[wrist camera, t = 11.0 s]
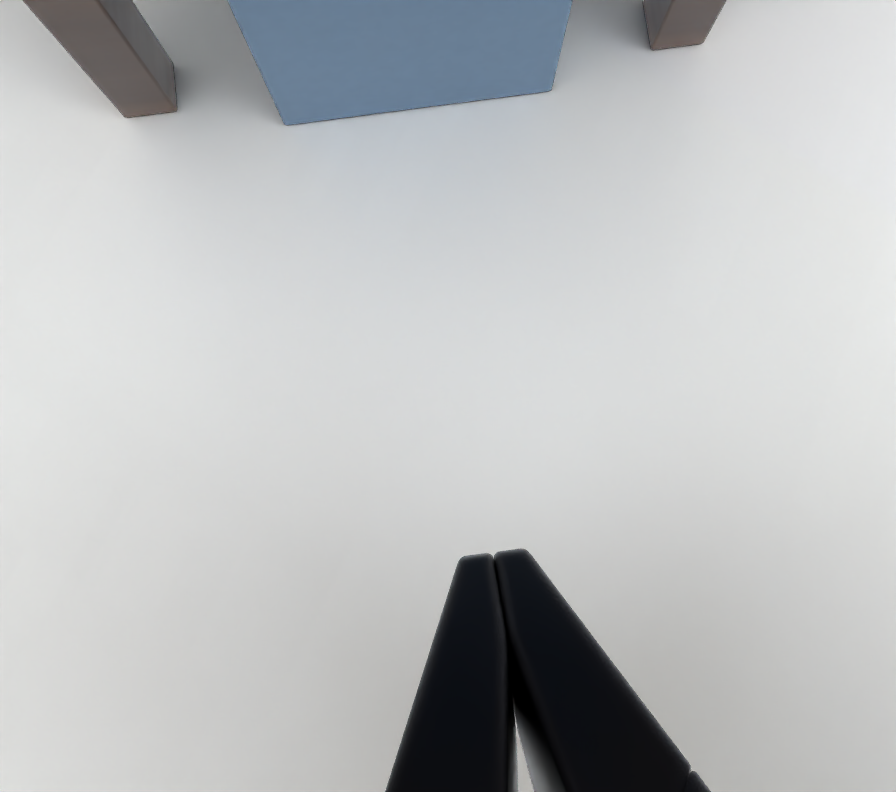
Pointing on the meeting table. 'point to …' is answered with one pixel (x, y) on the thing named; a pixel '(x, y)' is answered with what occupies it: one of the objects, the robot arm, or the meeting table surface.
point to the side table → (151, 70)
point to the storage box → (399, 52)
